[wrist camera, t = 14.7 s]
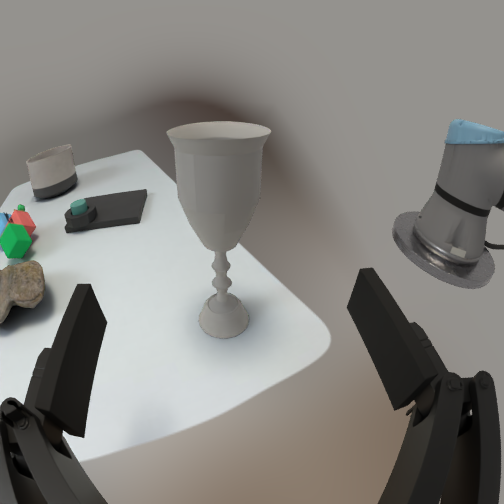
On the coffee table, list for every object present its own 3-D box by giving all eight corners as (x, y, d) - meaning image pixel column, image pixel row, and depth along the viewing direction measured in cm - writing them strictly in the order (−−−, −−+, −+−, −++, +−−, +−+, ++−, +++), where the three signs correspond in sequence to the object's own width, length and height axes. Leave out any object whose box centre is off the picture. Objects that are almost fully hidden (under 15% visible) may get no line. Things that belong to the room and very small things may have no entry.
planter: (61, 180, 63) (54, 146, 57) (87, 182, 60) (80, 143, 54) (28, 200, 53) (18, 163, 47) (51, 204, 50) (41, 161, 44)
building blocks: (26, 273, 37) (2, 228, 37) (47, 240, 38) (21, 196, 37) (-1, 276, 29) (-25, 225, 29) (18, 239, 30) (-6, 189, 29)
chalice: (179, 305, 28) (155, 128, 18) (236, 286, 31) (237, 119, 21) (208, 358, 23) (185, 145, 13) (272, 330, 26) (293, 135, 16)
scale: (147, 194, 52) (145, 180, 50) (138, 226, 42) (135, 209, 40) (85, 203, 49) (82, 190, 48) (64, 235, 39) (59, 220, 37)
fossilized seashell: (15, 266, 29) (2, 233, 24) (68, 290, 31) (59, 259, 26) (-17, 325, 22) (-38, 298, 17) (39, 358, 24) (20, 337, 19)
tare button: (89, 207, 42) (87, 198, 41) (85, 214, 40) (82, 205, 39) (75, 209, 41) (73, 200, 40) (70, 217, 39) (67, 208, 38)
